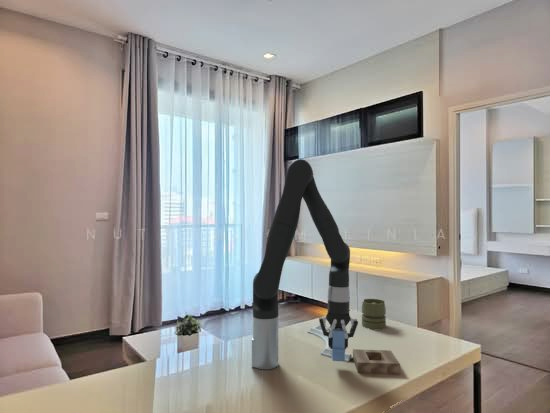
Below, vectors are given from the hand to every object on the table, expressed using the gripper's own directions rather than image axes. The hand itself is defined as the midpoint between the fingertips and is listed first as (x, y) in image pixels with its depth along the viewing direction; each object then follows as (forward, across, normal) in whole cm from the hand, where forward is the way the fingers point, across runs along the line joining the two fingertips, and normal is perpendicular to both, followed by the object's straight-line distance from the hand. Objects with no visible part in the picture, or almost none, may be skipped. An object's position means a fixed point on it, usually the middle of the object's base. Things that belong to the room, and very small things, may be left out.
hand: (337, 348), depth 120 cm
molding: (+8, 0, -27) cm, 28 cm away
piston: (+7, -22, -52) cm, 57 cm away
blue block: (+3, 0, 0) cm, 3 cm away
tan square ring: (+7, -14, -4) cm, 16 cm away
